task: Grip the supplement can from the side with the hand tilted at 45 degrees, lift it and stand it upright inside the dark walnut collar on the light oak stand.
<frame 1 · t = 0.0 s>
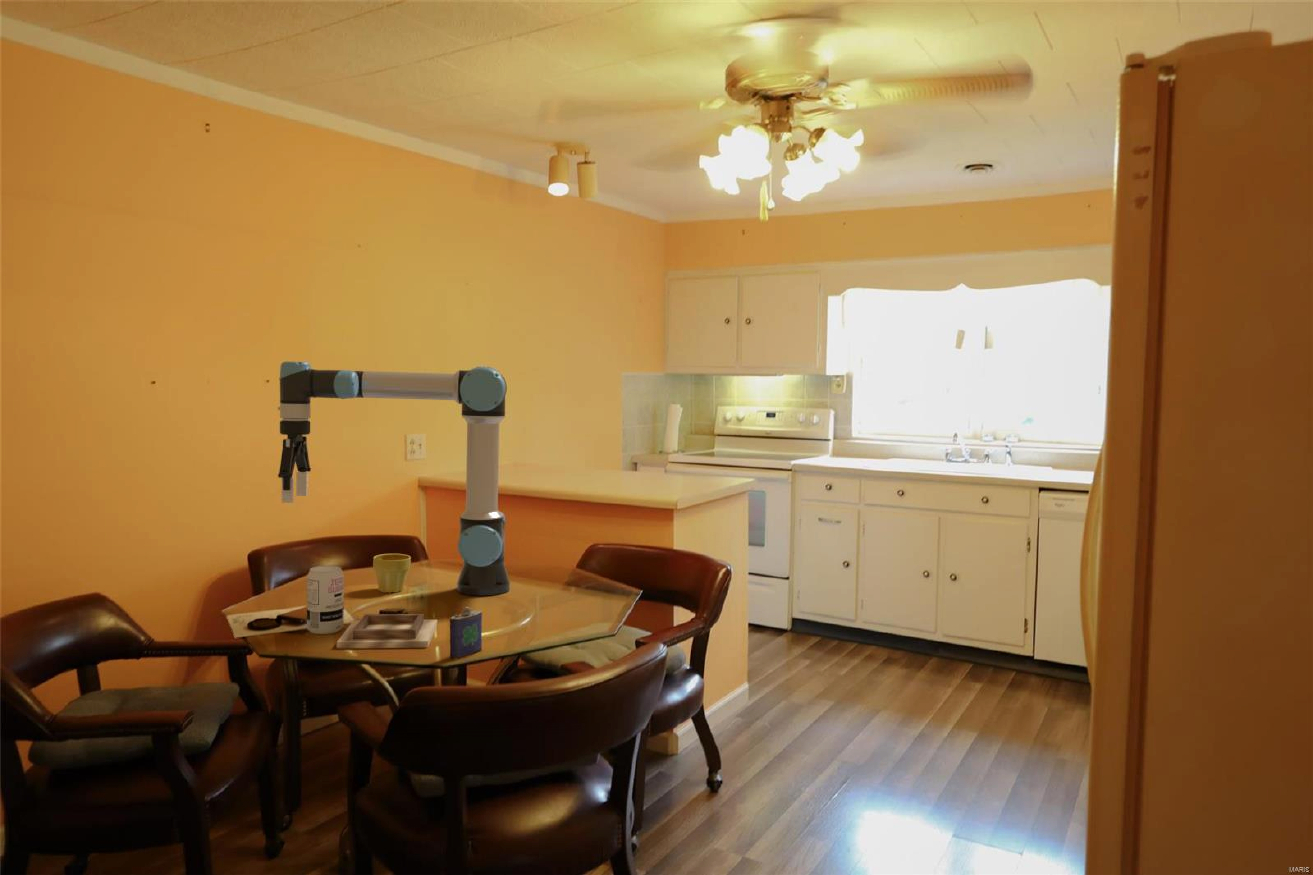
hand: (294, 499, 233), 28 cm above the table, tool pointing down, fingers open, 13 cm apart
plant pot: (391, 590, 251), on the table
supplement can: (325, 630, 210), on the table
oak stand: (389, 636, 206), on the table
flask: (466, 654, 195), on the table
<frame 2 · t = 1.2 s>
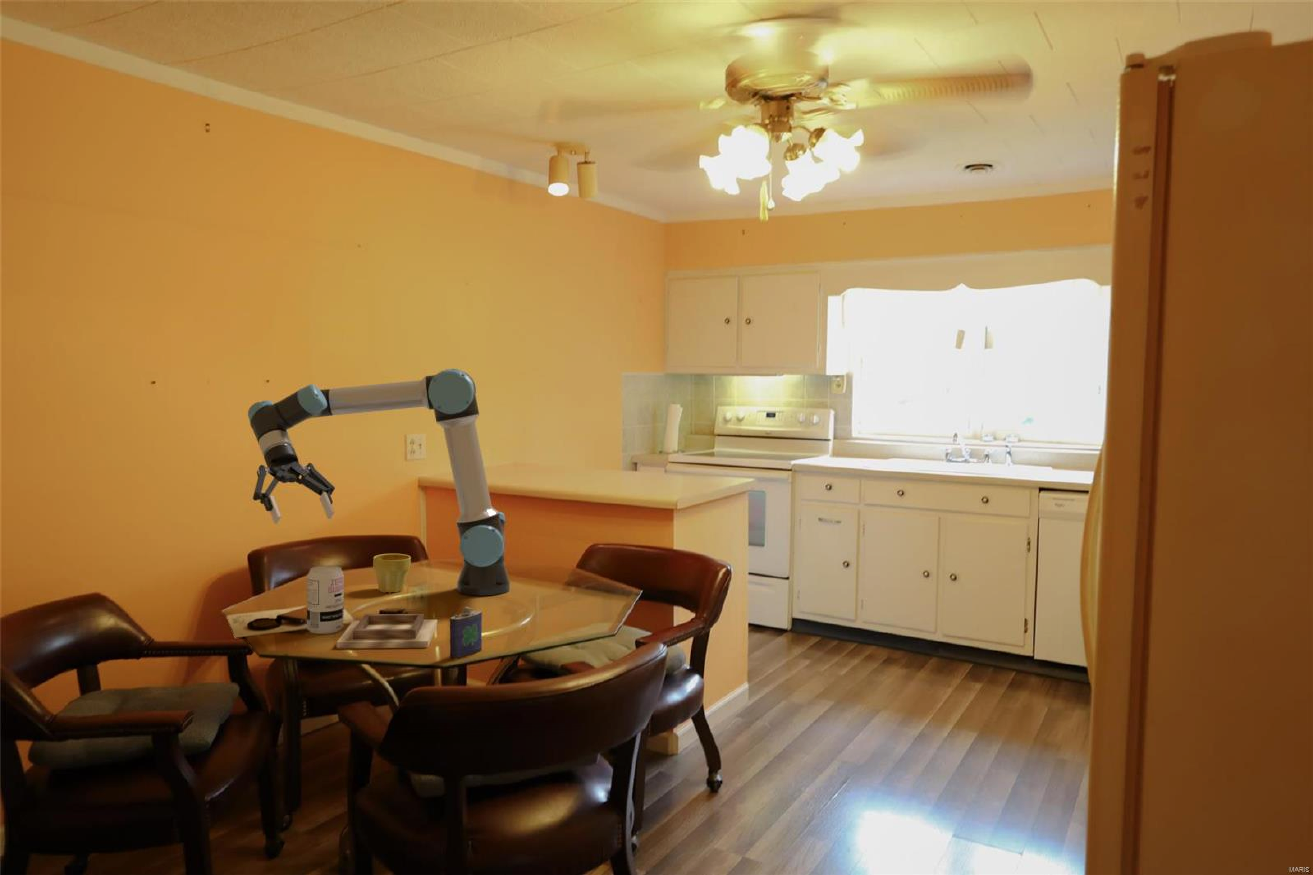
hand: (305, 517, 216), 26 cm above the table, tool tilted 45°, fingers open, 13 cm apart
nothing on the table moved.
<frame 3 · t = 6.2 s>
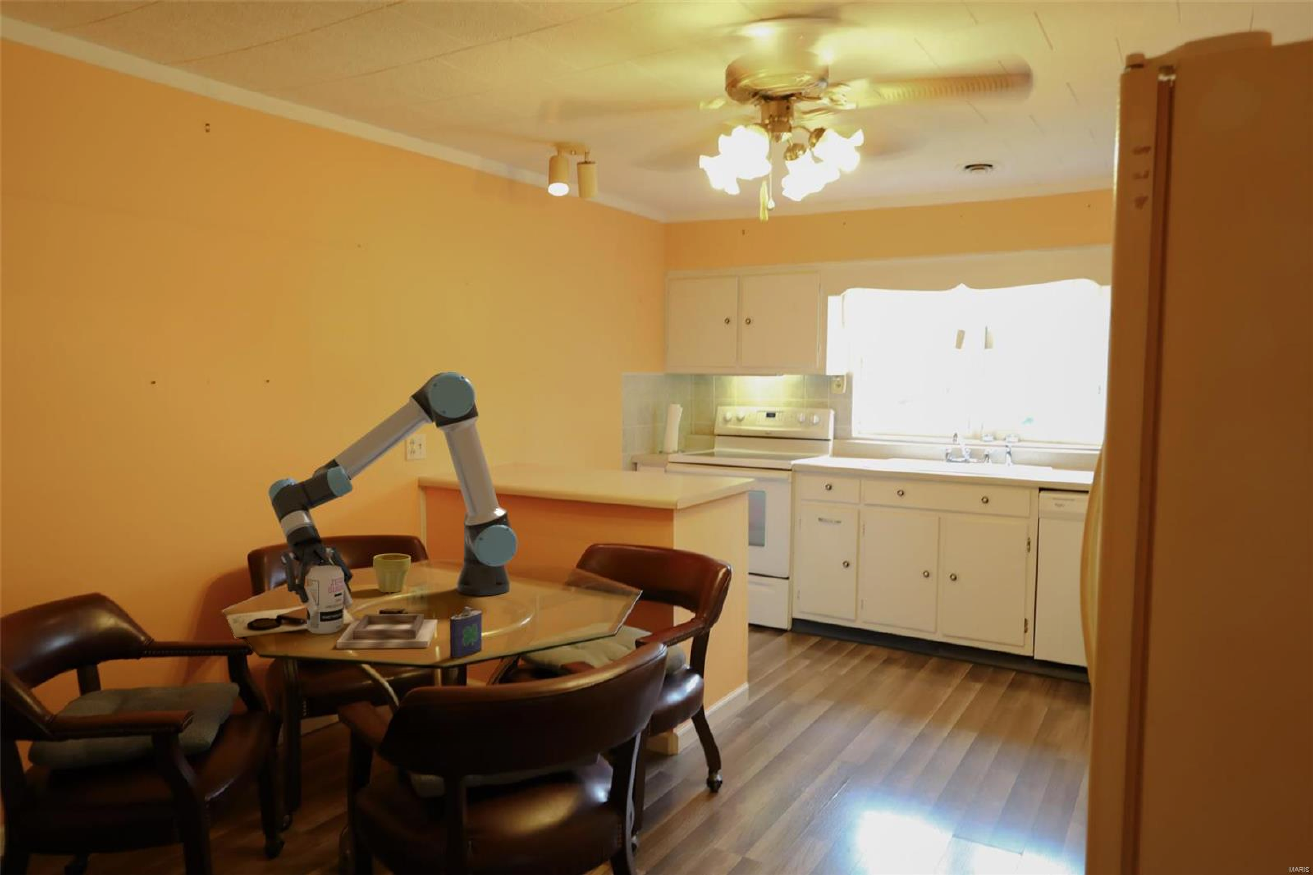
hand: (332, 609, 207), 6 cm above the table, tool tilted 45°, fingers closed on supplement can, 8 cm apart
supplement can: (325, 630, 210), on the table, touching gripper
everything else where it was.
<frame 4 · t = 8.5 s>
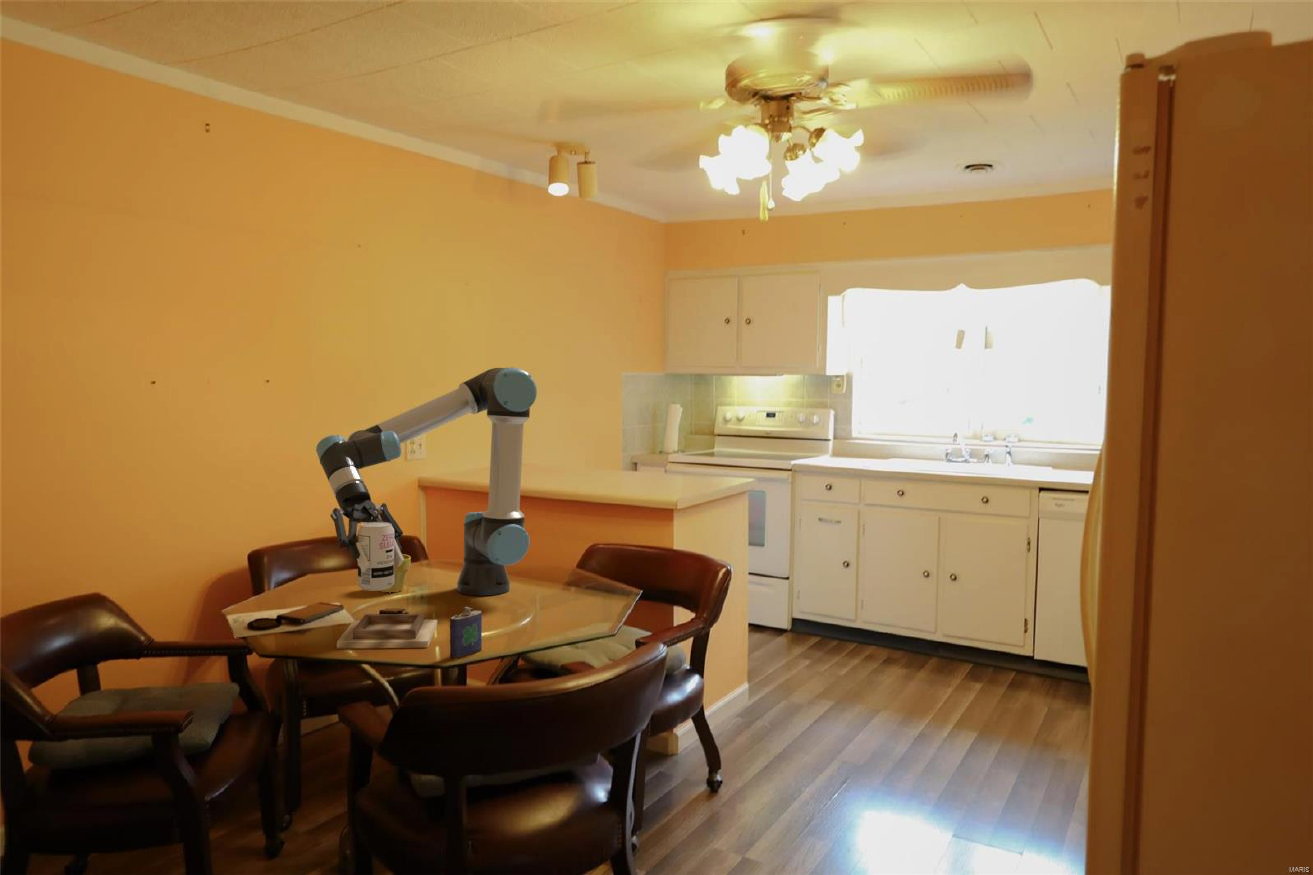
hand: (383, 565, 203), 17 cm above the table, tool tilted 45°, fingers closed on supplement can, 8 cm apart
supplement can: (376, 588, 206), point 11 cm above the table, touching gripper
everything else where it was.
when the fingers open (9 cm above the table, at t = 10.9 s): supplement can drops 1 cm, resting on oak stand.
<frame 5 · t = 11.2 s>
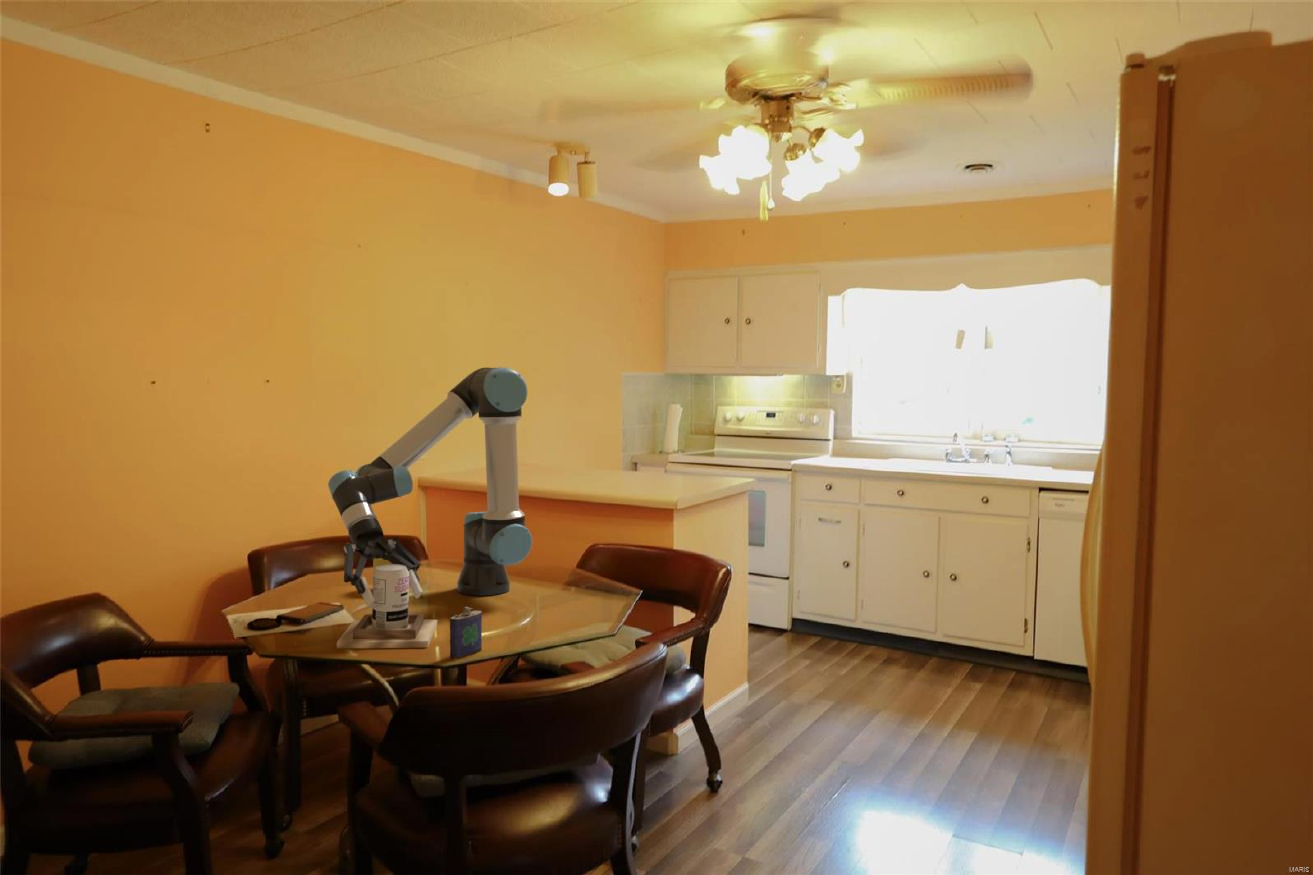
hand: (395, 599, 204), 9 cm above the table, tool tilted 45°, fingers open, 12 cm apart
supplement can: (390, 630, 206), point 1 cm above the table, touching oak stand
everything else where it was.
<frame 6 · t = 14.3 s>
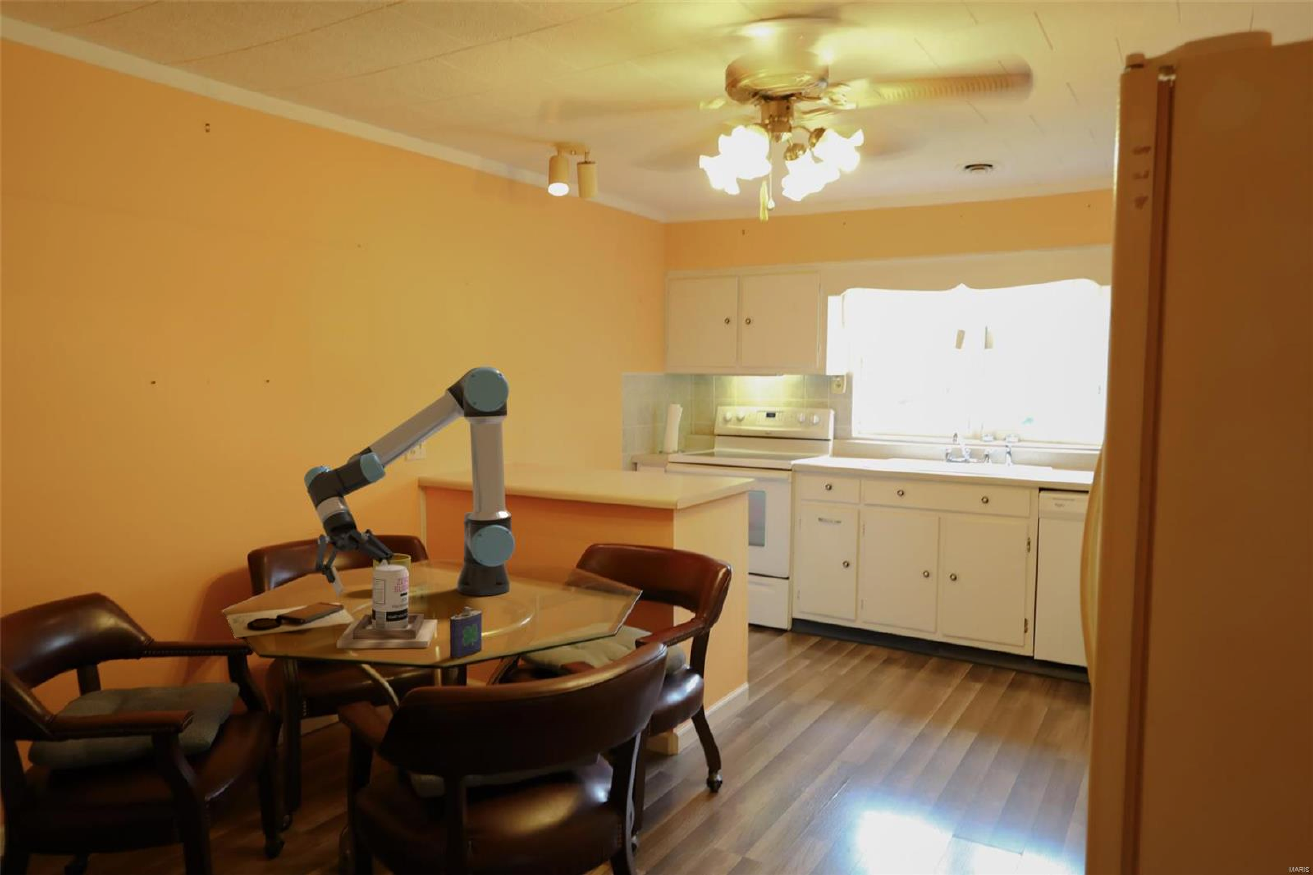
hand: (366, 588, 213), 10 cm above the table, tool tilted 45°, fingers open, 13 cm apart
nothing on the table moved.
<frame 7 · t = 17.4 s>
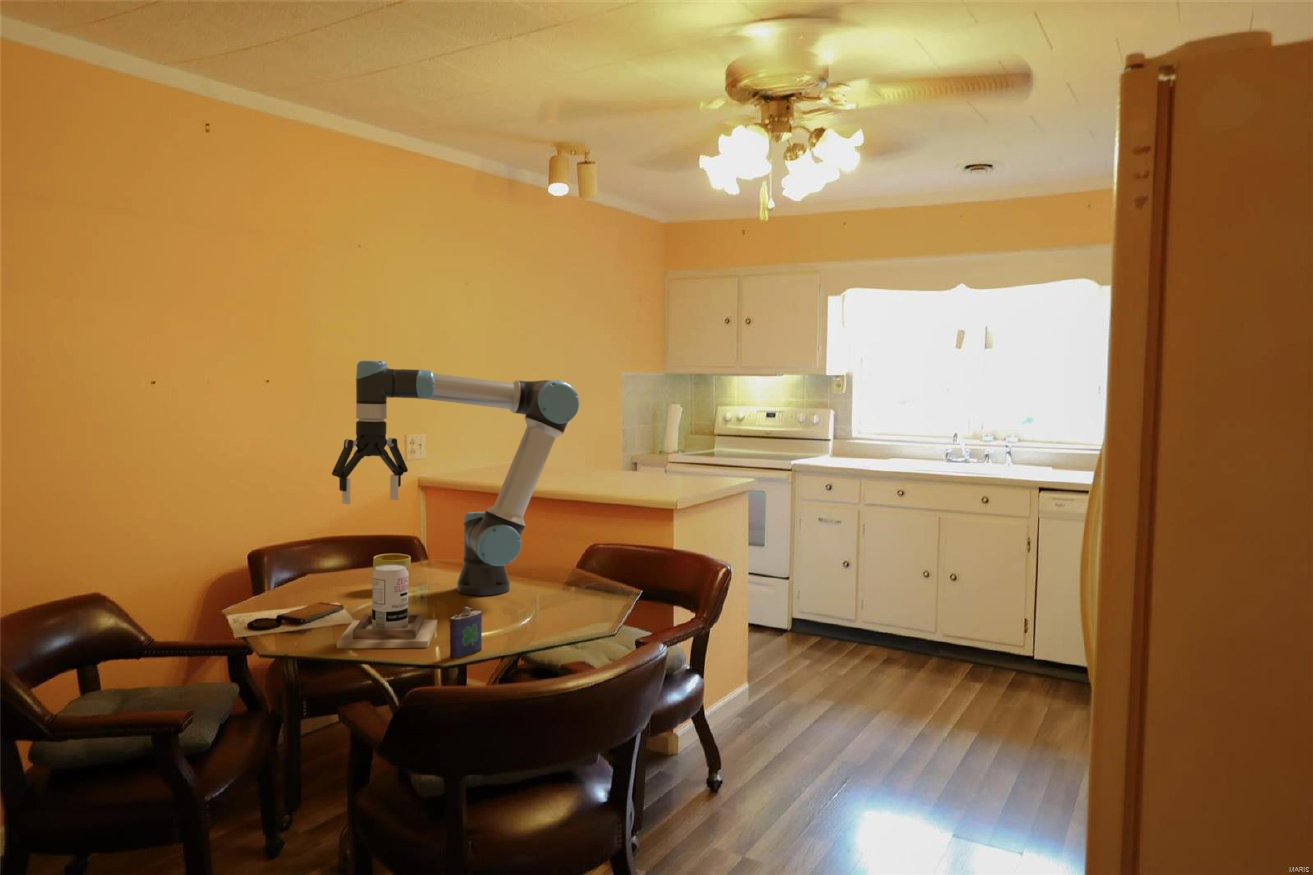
hand: (370, 501, 227), 29 cm above the table, tool pointing down, fingers open, 13 cm apart
nothing on the table moved.
at the end: supplement can 0.2 cm off-centre on the oak stand, point 1.3 cm above the oak stand's base; supplement can tilted 0°; the gripper is holding nothing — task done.
